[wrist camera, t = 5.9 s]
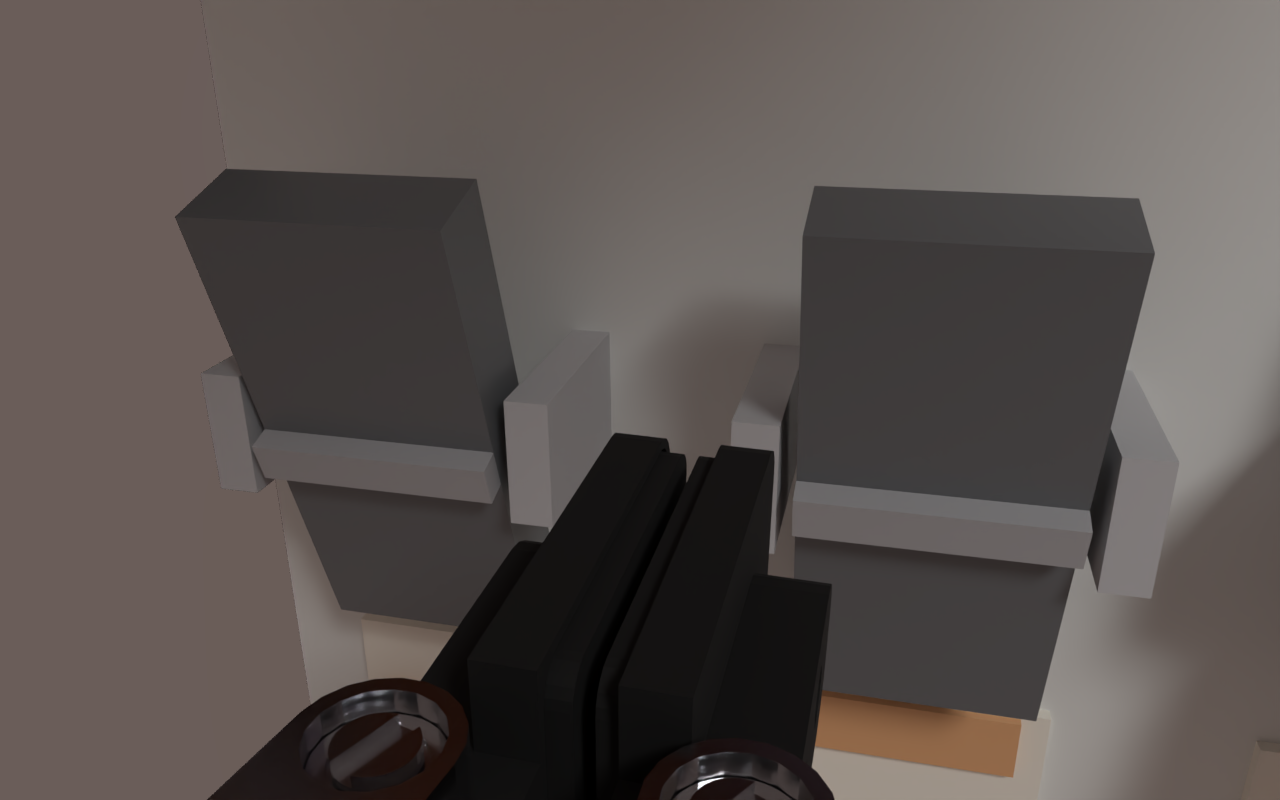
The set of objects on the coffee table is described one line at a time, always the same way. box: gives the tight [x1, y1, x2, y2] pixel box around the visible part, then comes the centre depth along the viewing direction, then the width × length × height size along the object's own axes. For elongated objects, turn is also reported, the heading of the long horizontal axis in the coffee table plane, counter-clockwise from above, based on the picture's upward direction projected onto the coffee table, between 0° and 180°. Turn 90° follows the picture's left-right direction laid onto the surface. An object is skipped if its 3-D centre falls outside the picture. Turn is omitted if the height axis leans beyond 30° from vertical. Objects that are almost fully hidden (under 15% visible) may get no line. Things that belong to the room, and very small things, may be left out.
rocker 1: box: [175, 169, 549, 626], centre depth 20 cm, size 10×5×2 cm, turn 1°
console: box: [201, 0, 1280, 800], centre depth 21 cm, size 20×30×8 cm, turn 90°
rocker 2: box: [792, 186, 1155, 721], centre depth 18 cm, size 10×5×2 cm, turn 0°
